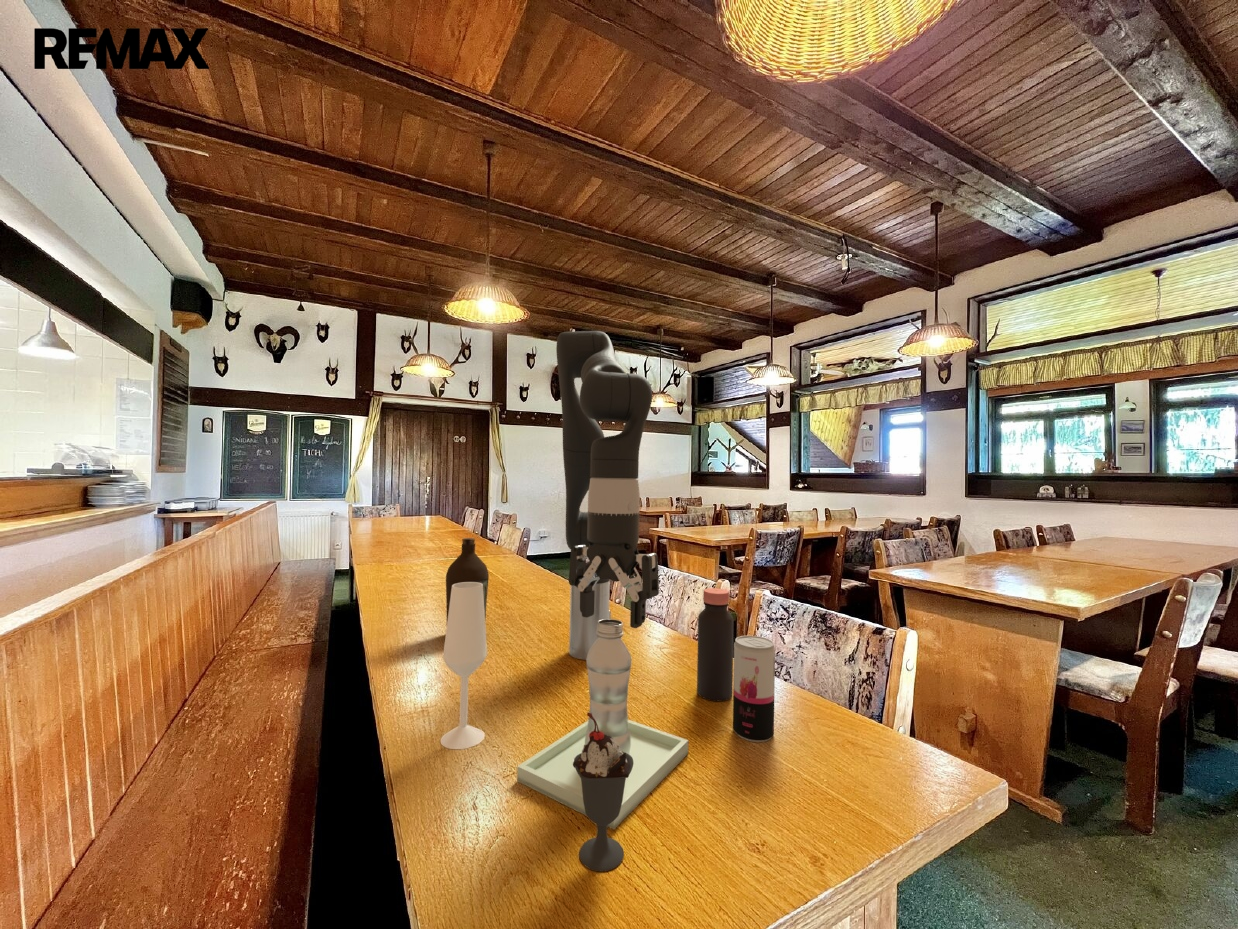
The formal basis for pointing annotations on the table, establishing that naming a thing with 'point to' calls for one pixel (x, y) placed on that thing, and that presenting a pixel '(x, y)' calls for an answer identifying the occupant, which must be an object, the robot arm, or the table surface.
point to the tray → (651, 766)
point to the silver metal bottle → (609, 683)
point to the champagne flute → (465, 653)
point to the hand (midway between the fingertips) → (611, 621)
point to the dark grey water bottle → (715, 647)
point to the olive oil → (467, 571)
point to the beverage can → (754, 688)
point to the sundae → (602, 796)
